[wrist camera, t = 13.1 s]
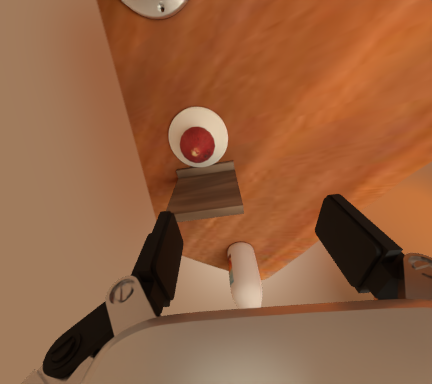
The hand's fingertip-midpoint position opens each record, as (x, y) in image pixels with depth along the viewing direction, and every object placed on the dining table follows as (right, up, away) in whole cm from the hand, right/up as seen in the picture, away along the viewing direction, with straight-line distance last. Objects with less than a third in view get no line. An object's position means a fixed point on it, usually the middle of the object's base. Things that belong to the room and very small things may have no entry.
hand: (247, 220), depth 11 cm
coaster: (-5, +12, +21) cm, 25 cm away
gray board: (-4, +5, +26) cm, 26 cm away
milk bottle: (+5, -15, +39) cm, 42 cm away
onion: (-5, +12, +21) cm, 24 cm away
